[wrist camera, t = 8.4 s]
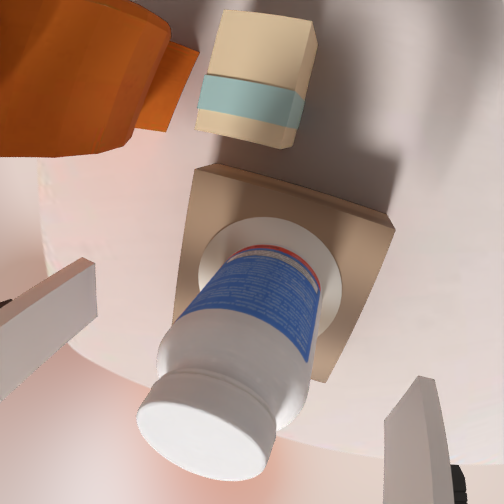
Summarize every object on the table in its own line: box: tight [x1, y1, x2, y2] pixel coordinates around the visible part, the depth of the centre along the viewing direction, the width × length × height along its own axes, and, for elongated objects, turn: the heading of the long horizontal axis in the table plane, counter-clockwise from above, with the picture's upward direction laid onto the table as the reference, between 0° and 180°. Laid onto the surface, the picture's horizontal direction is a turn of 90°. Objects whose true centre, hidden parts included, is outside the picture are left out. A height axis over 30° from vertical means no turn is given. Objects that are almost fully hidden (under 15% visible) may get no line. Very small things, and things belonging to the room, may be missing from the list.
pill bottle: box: [136, 243, 322, 481], centre depth 12 cm, size 6×5×10 cm
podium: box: [172, 163, 395, 383], centre depth 18 cm, size 10×10×3 cm
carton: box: [195, 10, 318, 149], centre depth 14 cm, size 6×4×4 cm
